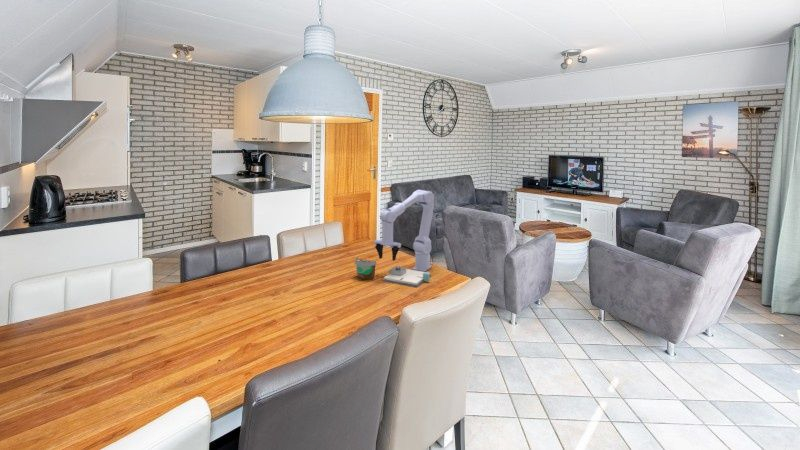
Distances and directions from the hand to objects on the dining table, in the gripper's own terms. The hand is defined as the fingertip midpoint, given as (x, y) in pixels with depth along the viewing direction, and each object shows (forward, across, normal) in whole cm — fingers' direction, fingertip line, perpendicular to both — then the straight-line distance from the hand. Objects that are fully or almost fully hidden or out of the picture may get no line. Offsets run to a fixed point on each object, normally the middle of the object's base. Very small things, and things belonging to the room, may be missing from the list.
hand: (387, 259), depth 213 cm
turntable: (+8, +12, +2) cm, 15 cm away
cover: (+8, +5, +2) cm, 9 cm away
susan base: (+10, +11, +2) cm, 15 cm away
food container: (+10, -9, -9) cm, 16 cm away
